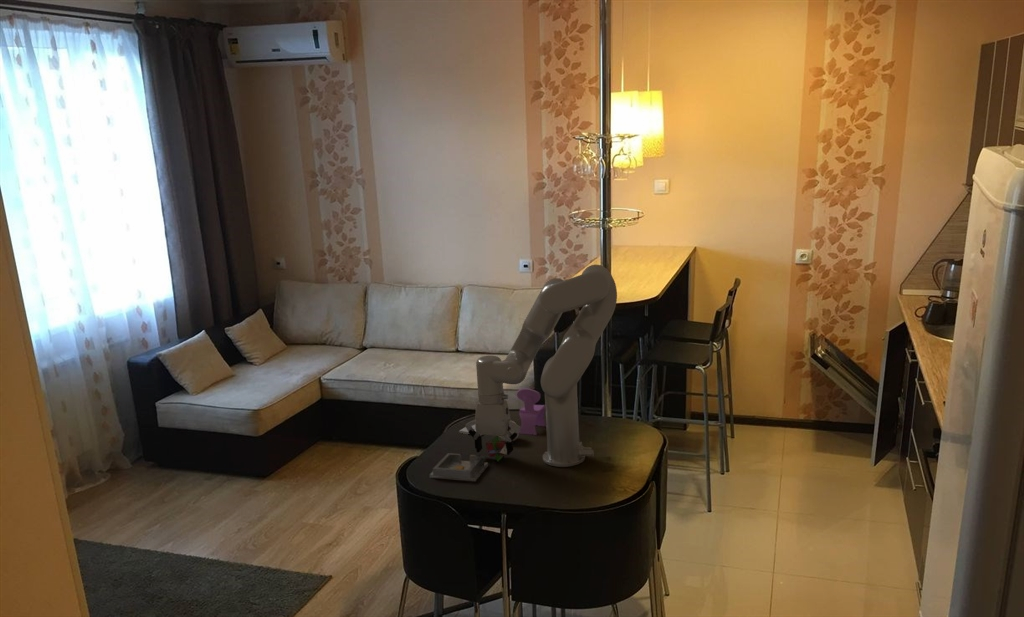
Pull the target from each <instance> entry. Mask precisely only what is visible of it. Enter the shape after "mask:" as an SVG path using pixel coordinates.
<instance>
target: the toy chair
mask: <svg viewBox="0 0 1024 617" xmlns="http://www.w3.org/2000/svg"><path fill="white" fill-rule="evenodd" d="M541 396H542V395H541V393H540V392H539V391H537V390H535V389H533V388H526V387H524V388H519V389H518V390H517V391H516V397H517V398H518V399H519V400H520V401H521V402H523V407H522V408H520V409H519V417H520V422H521V425H520V427H521V429H520V431H519V434H524V435H532V434H533V435H534V436H537V435H538V433H537V430H536V429H537V428H536V425H538V427H546V420H545V413H546V412H545V404H536V403H538V402H539V401H540V400H541ZM533 435H532V436H533Z"/></svg>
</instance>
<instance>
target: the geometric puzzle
mask: <svg viewBox="0 0 1024 617" xmlns="http://www.w3.org/2000/svg"><path fill="white" fill-rule="evenodd" d="M499 439H500V437H499V436H495V437H494V438H493V439H492V440H491V442H490V441H488V442H486V443H485V445H486V446H485V447H486V450H487V451H486V452H487V453H486V455H488V457H491V459H493V460H494V461H495V462H497V463H498V462H500V460H503V459H505V458H506V456H508V455H507V448H506V441H503V440H501V439H502V438H501V439H500V440H499ZM493 457H495V458H496V460H495V459H494V458H493Z"/></svg>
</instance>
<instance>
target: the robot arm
mask: <svg viewBox="0 0 1024 617" xmlns="http://www.w3.org/2000/svg"><path fill="white" fill-rule="evenodd" d="M617 299H618V290H617V285H616V282H615V279H614V278H613V275H612V274H611V273H610V271H609V269H607V268H606V267H605V266H603V265H601V264H591V265H589V266H587V267H586V268H585V269H584V270H583V271H582V273H581V274H579V275H576V276H574V277H571V278H568V279H562V278H559V277H557V278H556V277H555V278H551V279H549V280H547V281H546V282H545V283H544V285H543V286H542V288H541V290H540V291H539V293H538V296H537V297H536V299H535V301H534V303H533V305H532V306H531V308H530V310H529V312H528V314H527V315H526V317H525V319H524V321H523V323H522V327H521V329H520V332H519V333H518V335H517V338H516V340H515V341H514V343H513V344H512V347H511V348H510V350H509V353H507V356H506V357H505V359H503V360H501V358H500V357H499V356H496V355H484V356H481V357H478V358H477V360H476V362H475V364H476V366H475V368H476V380H477V395H478V396H477V397H478V398H477V399H478V400H477V401H476V406H475V416H474V419H472V420H471V421H468V422H467V423H466V424H464V425H465V427H466V428H467V430H468V431H469V434H470V436H471V437H472V439H473V440H474V448H475V449H476V453H480V452H481V451H482V449H483V441H482V440H483V439H482V436H483V435H484V436H485V435H486V436H495V437H497V436H504V437H505V438H506V439H507V442H506V448H507V455H506V456H509V455H511V453H512V452H513V451H514V441H513V439H514V438H515V437H516V436H517V435H518V433H519V431H520V429H521V425H518V424H517V423H516V422H515V423H516V424H515V423H513V422H512V421H513V420H512V419H511V414H510V408H509V405H508V404H509V403H508V401H507V400H508V399H509V394H506V393H505V390H504V384H505V385H519V384H520V383H522V382H523V381H524V380H525V379H526V376H527V374H528V371H529V369H530V367H531V365H532V363H533V361H534V359H535V358H536V355H537V354H538V352H539V350H540V349H541V347H542V345H543V343H544V342H545V341H546V340H549V337H550V336H551V335H552V333H553V331H554V329H555V327H556V326H557V324H558V322H559V321H560V318H561V317H562V314H563V313H566V312H571V311H573V310H576V309H579V308H581V307H582V308H581V309H580V311H579V313H578V314H577V316H576V317H575V319H574V321H573V323H572V324H571V325H570V327H569V328H568V329H567V331H566V332H565V334H563V336H562V337H563V338H562V341H561V343H560V345H559V347H558V348H557V350H556V351H555V354H554V355H553V356H551V357H550V358H549V359H548V360H547V361H546V362H545V364H544V367H543V369H542V372H541V377H540V386H541V389H542V391H543V393H544V405H545V412H544V413H545V424H546V426H545V427H546V431H545V432H546V444H547V445H546V446H547V451H545V452H544V453H543V454H542V461H543V463H545V464H547V465H549V466H553V467H557V468H567V467H574V466H578V465H579V464H582V463H583V462H584V461H585V459H586V457H594V456H595V451H594V450H593V449H592V447H589V446H586V447H585V446H584V445H583V442H582V441H580V430H579V427H580V426H579V425H580V424H579V410H578V409H579V408H578V405H579V402H578V383H579V381H580V379H581V378H582V376H583V375H584V373H585V371H586V370H587V369H588V367H589V365H590V364H591V362H592V359H593V357H594V354H595V352H596V351H595V350H596V345H597V343H598V341H599V339H600V337H601V336H602V334H603V332H604V331H605V329H606V327H607V326H608V324H609V322H610V320H611V318H612V317H613V315H614V312H615V309H616V306H617ZM473 425H475V429H476V431H475V430H474V429H473V428H472V426H473ZM465 427H464V428H465ZM511 428H513V429H514V430H515V431H514V433H513V434H512V433H511V432H510V430H511ZM480 434H482V435H481V436H480ZM519 434H520V433H519ZM518 436H519V435H518Z"/></svg>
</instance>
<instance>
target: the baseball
mask: <svg viewBox="0 0 1024 617" xmlns="http://www.w3.org/2000/svg"><path fill="white" fill-rule="evenodd" d="M511 421H512V422H513V423H515V424H517V423H516V422H515V421H514V420H511ZM514 431H515V430H514V429H513V428H511V430H510V432H511V433H512V434H513V433H514ZM519 435H520V433H518V435H517V436H516V437H515V438H514V439H513V442H514V441H515V440H517V439H518V438H519ZM499 437H500V438H499ZM499 437H498V438H499V439H500V441H506V442H507V439H506V438H505V437H504V436H499ZM501 438H502V439H501Z"/></svg>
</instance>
